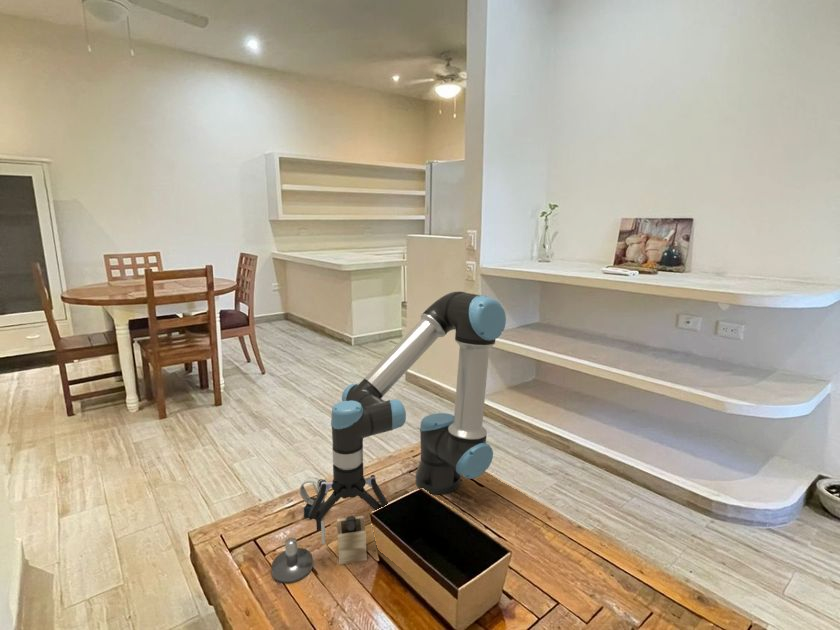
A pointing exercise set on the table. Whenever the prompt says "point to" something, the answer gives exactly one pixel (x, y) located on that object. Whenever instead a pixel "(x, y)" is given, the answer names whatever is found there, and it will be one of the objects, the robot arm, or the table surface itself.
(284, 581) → the stand
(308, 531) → the table surface
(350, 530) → the stand
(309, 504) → the watch
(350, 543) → the wooden square sleeve
